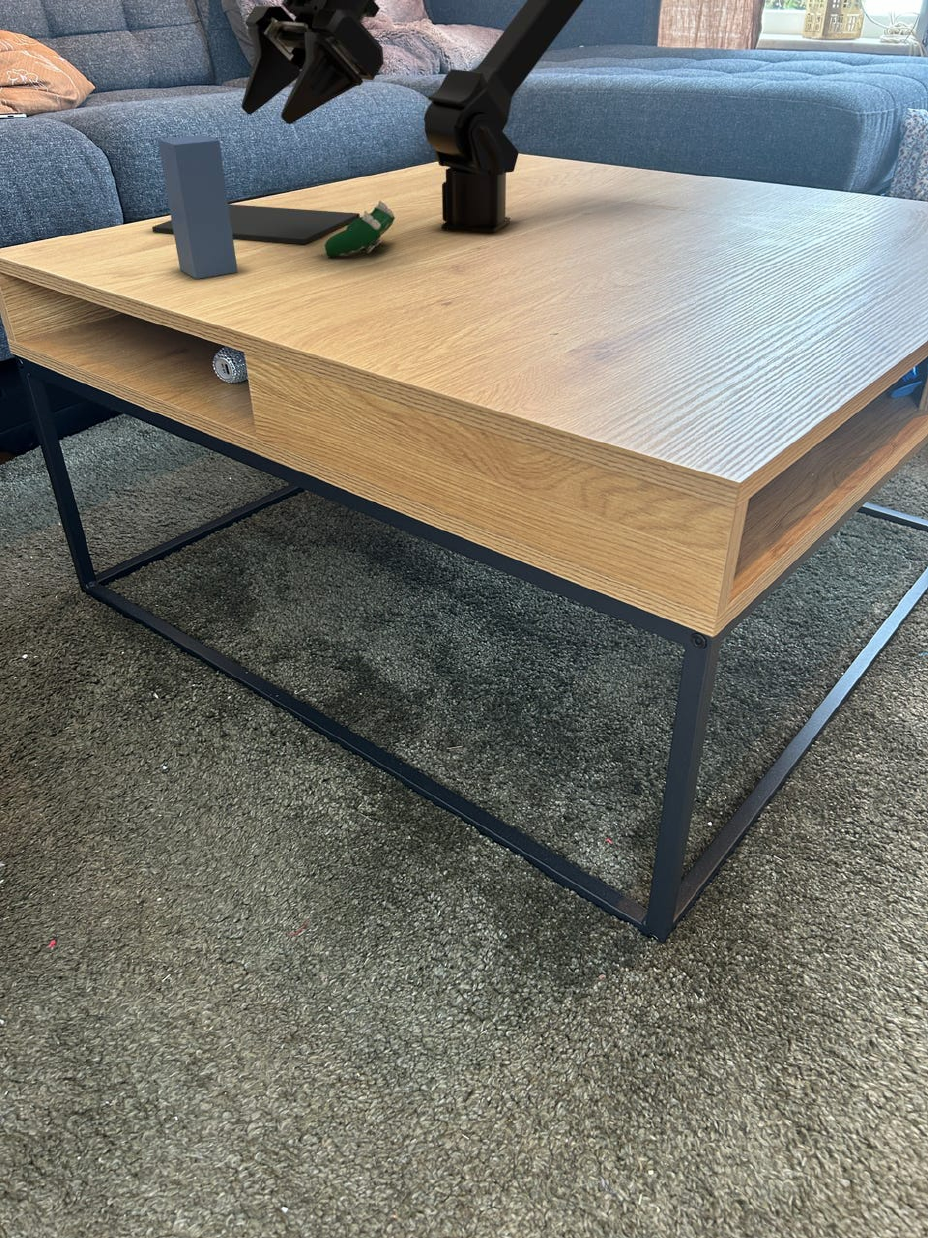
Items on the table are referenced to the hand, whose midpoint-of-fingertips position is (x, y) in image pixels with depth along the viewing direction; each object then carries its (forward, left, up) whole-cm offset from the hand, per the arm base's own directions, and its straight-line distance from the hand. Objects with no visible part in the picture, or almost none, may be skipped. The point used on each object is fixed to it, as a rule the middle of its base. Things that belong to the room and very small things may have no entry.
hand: (264, 115), depth 93 cm
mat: (+10, -13, -13) cm, 22 cm away
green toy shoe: (-7, -6, -14) cm, 16 cm away
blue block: (+4, +7, -13) cm, 16 cm away
